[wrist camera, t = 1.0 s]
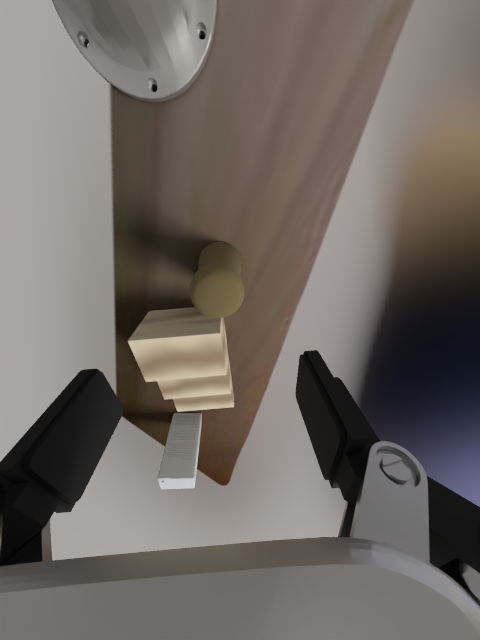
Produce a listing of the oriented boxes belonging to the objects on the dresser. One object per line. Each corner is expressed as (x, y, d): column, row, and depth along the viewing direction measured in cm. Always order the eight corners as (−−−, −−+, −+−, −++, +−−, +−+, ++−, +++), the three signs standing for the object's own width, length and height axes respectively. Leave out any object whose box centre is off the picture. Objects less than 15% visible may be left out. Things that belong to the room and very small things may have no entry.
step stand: (149, 311, 30) (127, 340, 24) (221, 305, 30) (220, 333, 24) (180, 400, 41) (171, 438, 34) (233, 396, 41) (234, 432, 34)
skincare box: (175, 423, 45) (159, 490, 34) (173, 411, 42) (156, 479, 32) (202, 423, 45) (194, 489, 35) (202, 412, 43) (194, 478, 33)
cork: (207, 290, 29) (196, 334, 19) (191, 249, 26) (169, 276, 16) (247, 279, 28) (257, 318, 19) (235, 235, 25) (240, 255, 16)
